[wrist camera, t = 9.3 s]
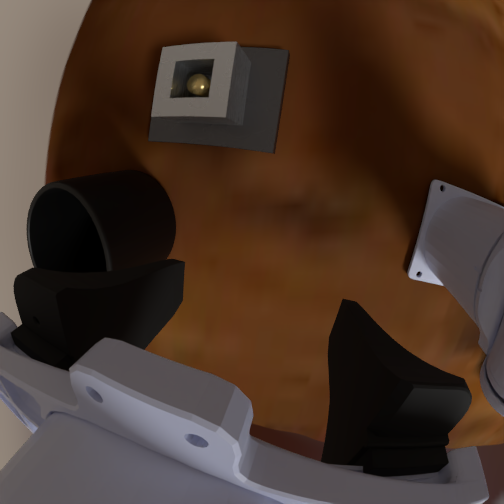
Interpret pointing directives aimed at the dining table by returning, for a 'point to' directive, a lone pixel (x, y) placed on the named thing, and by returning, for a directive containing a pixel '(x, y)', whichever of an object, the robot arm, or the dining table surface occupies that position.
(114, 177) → the mug
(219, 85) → the gray square hollow block
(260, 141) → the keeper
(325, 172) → the dining table surface
